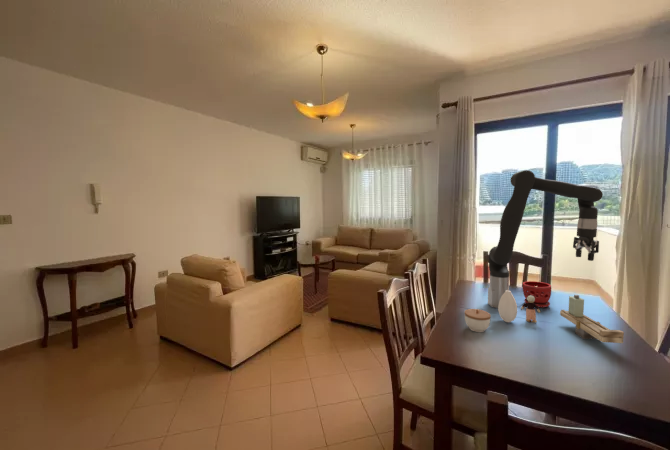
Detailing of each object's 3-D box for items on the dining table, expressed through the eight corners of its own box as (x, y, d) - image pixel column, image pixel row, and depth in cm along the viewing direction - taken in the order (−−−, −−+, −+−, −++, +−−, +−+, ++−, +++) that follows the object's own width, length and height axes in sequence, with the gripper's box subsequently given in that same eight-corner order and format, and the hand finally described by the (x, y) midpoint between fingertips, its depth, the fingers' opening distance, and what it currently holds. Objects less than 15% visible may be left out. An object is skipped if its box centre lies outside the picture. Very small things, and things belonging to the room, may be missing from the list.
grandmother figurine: (538, 320, 138) (539, 295, 136) (540, 323, 134) (541, 297, 133) (519, 318, 141) (520, 293, 140) (521, 321, 137) (522, 296, 136)
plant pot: (549, 302, 160) (550, 282, 159) (551, 310, 149) (552, 288, 148) (521, 298, 167) (522, 279, 166) (522, 306, 156) (523, 285, 155)
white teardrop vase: (518, 326, 132) (520, 288, 131) (500, 324, 135) (501, 287, 133) (514, 319, 140) (515, 283, 138) (496, 317, 142) (497, 282, 141)
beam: (599, 351, 109) (601, 331, 108) (558, 322, 134) (559, 305, 134) (624, 353, 108) (625, 332, 107) (577, 323, 133) (578, 306, 132)
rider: (574, 316, 127) (575, 296, 126) (568, 313, 131) (569, 293, 130) (583, 316, 126) (584, 297, 125) (577, 313, 130) (578, 294, 129)
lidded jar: (466, 322, 138) (467, 303, 137) (491, 327, 131) (492, 308, 131) (462, 330, 129) (462, 311, 128) (488, 337, 123) (489, 316, 122)
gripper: (569, 226, 151) (566, 255, 152) (589, 228, 137) (586, 261, 138) (584, 226, 150) (582, 256, 151) (606, 229, 136) (603, 262, 137)
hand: (584, 258), depth 145 cm, fingers open, 8 cm apart
